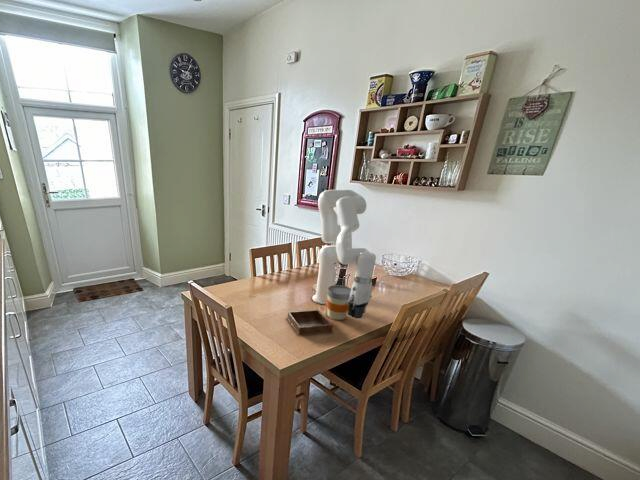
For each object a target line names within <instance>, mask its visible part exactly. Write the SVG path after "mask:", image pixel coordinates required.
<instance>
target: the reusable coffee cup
mask: <svg viewBox="0 0 640 480" xmlns="http://www.w3.org/2000/svg"><path fill="white" fill-rule="evenodd" d="M351 289H352V287H350V286H347V285H341V284H340V285H339V284H335V285H333V286H330V287H329V288H328V291H327V295H328V297H327V304H326V308H327V310H326V311H327V316H328V318H330V319H333V320H337V321H341V320H345V319H346V317H347V315H348V310H349V307H348V306H347V303H346V302H347V300H348V299H349V298H350V292H351Z"/></svg>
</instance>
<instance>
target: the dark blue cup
mask: <svg viewBox="0 0 640 480" xmlns="http://www.w3.org/2000/svg"><path fill="white" fill-rule="evenodd" d="M353 305H354V304H353V303H352V306H353ZM366 306H367V305H365V304H364V303H363V304H360V305H356V307H355V308H354V309H355V313H354V317H352V318H353V319H362V318H363V317H364V314H365V313H364V312H365V310H366V311H367V307H366Z"/></svg>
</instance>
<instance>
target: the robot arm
mask: <svg viewBox="0 0 640 480" xmlns="http://www.w3.org/2000/svg"><path fill="white" fill-rule="evenodd" d="M317 208H318V211H319V215H320V233H321V234H320V236H321V241H322V242H323V243H325V244H335V245H326V246H323V247H321V248H320V249H319V251H318V274H317V281H316V289H315V294H314V295H313V296H312V301H313V302H315V303H316V304H321V305H327V297H328V295H327V291H328V288H329V287H330V286H333V285H336V279H337V269H336V267H335V264H342V265H344V266H351V265H356V267H355V272H354V279H353V283H352V285H351V292H350V298H349V299H348V300H347V302H346V303H347V306H348V307H349V310H348V311H347V316H349V317H351V318H353V317H354V313H355V309H354V308H355V307H356V305H360V304H363V303H364V304H365V305H366V308H367V306H368V305H369V302H370V301H371V299H372V297H373V295H372V292H373V282H372V281H373V276H374V270H375V266H376V260H377V255H376V254H375V253H374V252H370V251H369V250H368V249H367V248H365V247H353V234H352V233H354V232H356V231H358V229H360V222H359V217H358V215H362V214H364V213H365V212H366V210H367V201H366V199H365V198H364V197H363V196H362V195H361V194H359V193H358V192H356V191H354V190H353V189H352V190H351V189H327V190H324V191H322V192H321V193H320V194H319V196H318V201H317ZM334 208H335V209H336V211H335V210H334ZM338 221H339V223H338ZM352 303H353V304H354V305H353V306H352ZM366 312H367V309H366V310H365V312H364V314H366Z"/></svg>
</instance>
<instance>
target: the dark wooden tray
mask: <svg viewBox="0 0 640 480" xmlns="http://www.w3.org/2000/svg"><path fill="white" fill-rule="evenodd" d="M287 320H288V321H289V323H290V324H291V325H292V327H293V328H294V330H295V331H296V332H297V334H298V335H308V334H321V333H329V332H330V333H331V332H332V331H333V324H332V323H331V322H330V320H329V319H328V318H327V317H326V316H325V315H324V314H323V313H322V311H320V310H319V309H311V310H310V309H309V310H296V311H295V310H294V311H287Z"/></svg>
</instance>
